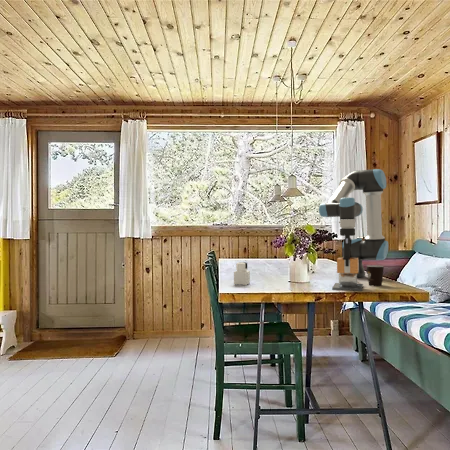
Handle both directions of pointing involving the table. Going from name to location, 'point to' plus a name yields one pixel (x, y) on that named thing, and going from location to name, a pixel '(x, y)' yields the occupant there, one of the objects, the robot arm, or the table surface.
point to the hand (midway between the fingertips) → (347, 271)
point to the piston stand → (347, 282)
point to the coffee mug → (375, 275)
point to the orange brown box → (353, 265)
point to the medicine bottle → (241, 274)
